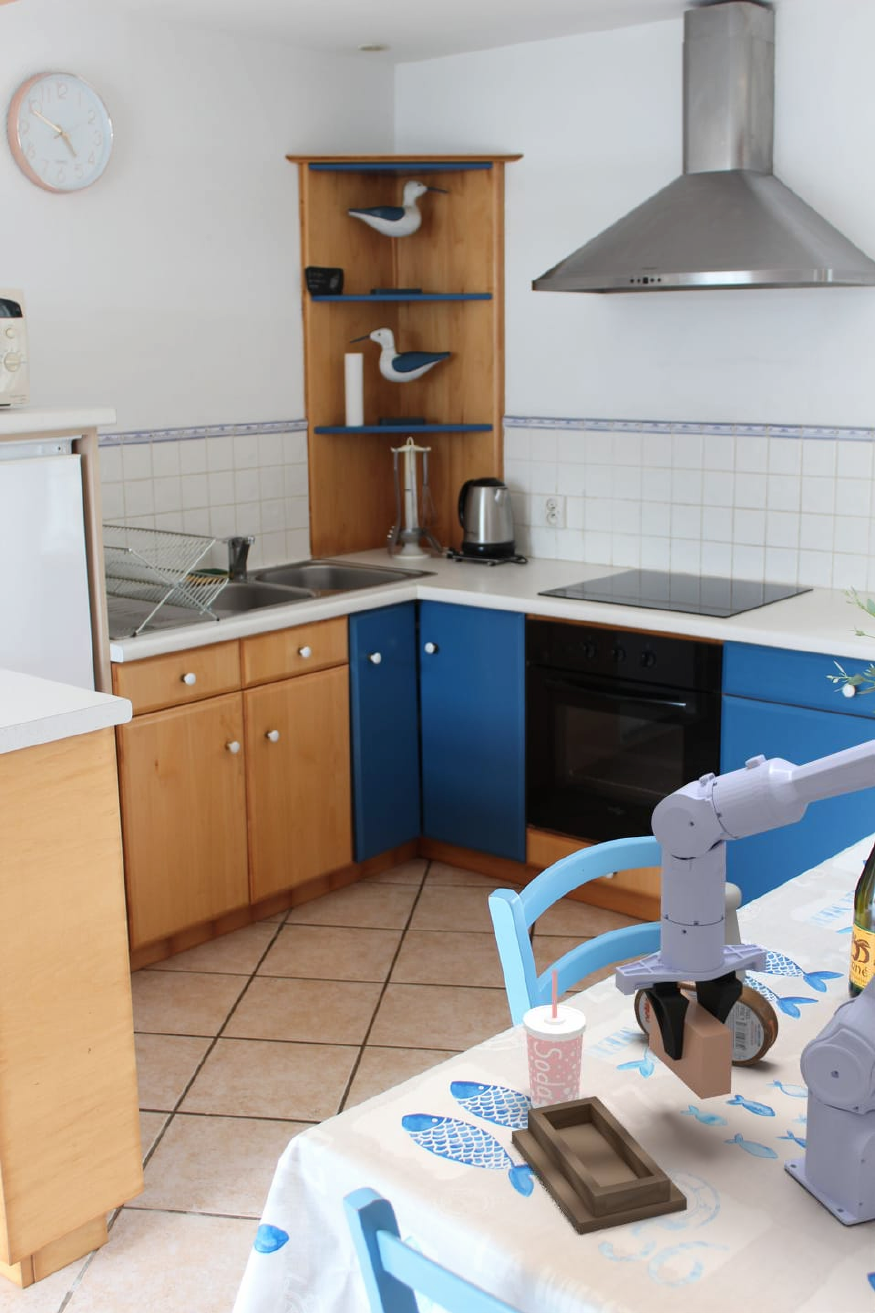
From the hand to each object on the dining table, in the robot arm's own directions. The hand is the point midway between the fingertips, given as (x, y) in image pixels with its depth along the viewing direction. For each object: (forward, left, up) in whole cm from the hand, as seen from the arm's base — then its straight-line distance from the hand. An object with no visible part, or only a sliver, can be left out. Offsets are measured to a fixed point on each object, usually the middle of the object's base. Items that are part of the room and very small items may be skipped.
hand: (690, 1052), depth 126 cm
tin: (+13, -9, -8) cm, 18 cm away
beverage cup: (+9, +10, -8) cm, 16 cm away
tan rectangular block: (0, 0, -2) cm, 2 cm away
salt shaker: (+25, -18, -8) cm, 32 cm away
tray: (-3, +11, -8) cm, 14 cm away
